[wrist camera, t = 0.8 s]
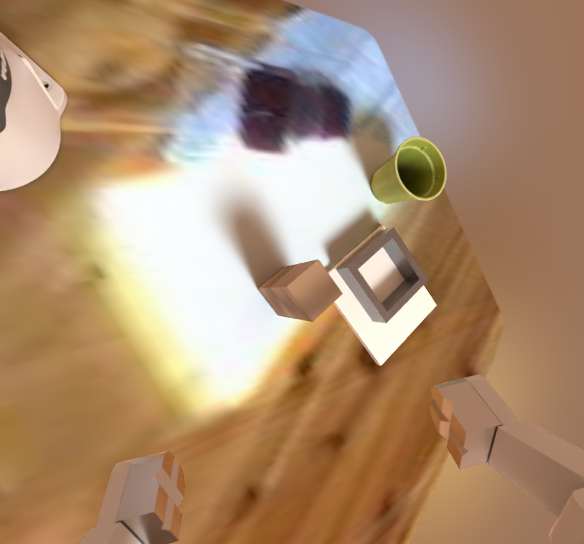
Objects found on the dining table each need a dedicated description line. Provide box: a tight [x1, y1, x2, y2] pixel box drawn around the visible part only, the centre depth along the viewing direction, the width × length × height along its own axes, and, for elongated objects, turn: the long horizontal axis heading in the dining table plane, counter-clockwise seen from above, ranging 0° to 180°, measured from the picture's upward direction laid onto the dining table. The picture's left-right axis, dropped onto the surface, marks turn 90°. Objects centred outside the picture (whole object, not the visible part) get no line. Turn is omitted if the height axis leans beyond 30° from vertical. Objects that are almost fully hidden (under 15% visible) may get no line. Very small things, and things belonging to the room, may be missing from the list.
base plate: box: [328, 225, 436, 366], centre depth 55 cm, size 17×15×1 cm
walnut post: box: [257, 260, 343, 322], centre depth 44 cm, size 5×5×12 cm
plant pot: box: [371, 137, 446, 204], centre depth 53 cm, size 9×9×9 cm
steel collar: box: [336, 227, 428, 323], centre depth 53 cm, size 10×10×4 cm
